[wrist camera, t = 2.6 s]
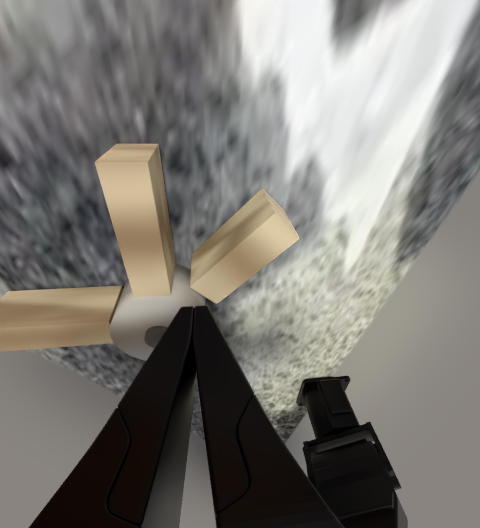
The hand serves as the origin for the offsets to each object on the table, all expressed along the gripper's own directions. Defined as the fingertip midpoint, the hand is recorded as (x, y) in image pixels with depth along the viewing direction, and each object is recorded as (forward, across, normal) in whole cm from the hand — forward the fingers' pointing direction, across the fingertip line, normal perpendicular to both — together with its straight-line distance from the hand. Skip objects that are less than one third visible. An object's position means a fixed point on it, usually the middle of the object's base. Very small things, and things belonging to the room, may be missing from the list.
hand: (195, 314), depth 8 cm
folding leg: (+12, -3, +4) cm, 13 cm away
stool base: (+12, +8, +10) cm, 18 cm away
